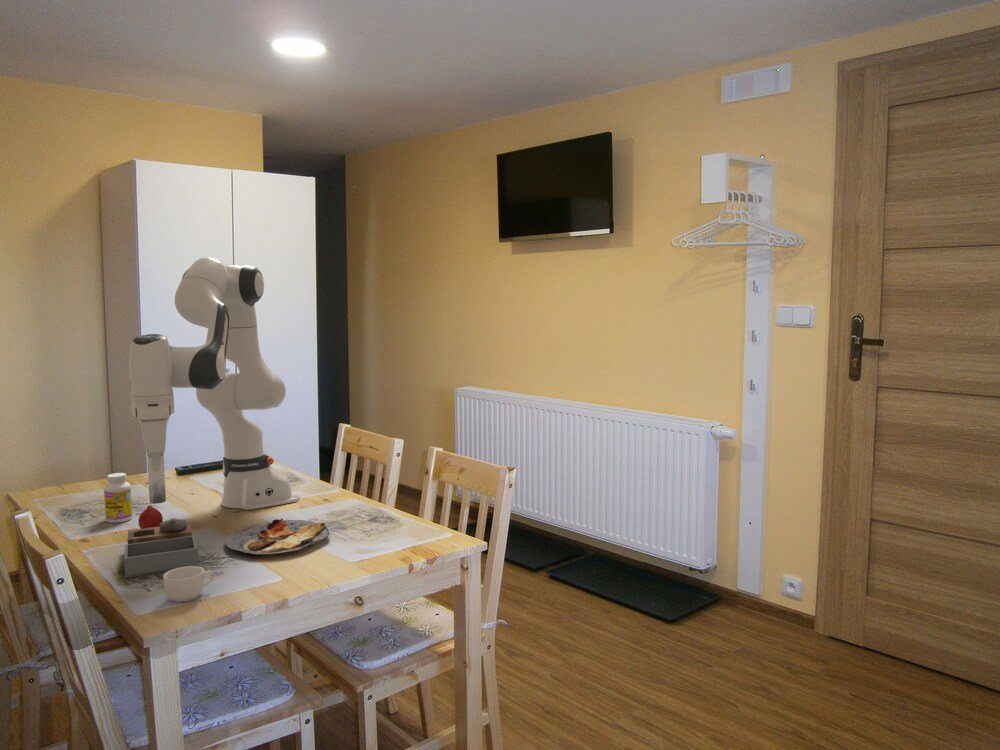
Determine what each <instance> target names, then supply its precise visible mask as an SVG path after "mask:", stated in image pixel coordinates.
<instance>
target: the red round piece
mask: <svg viewBox="0 0 1000 750" xmlns="http://www.w3.org/2000/svg"><path fill="white" fill-rule="evenodd" d="M163 520H164V517H163V515H162V513H161V512H160V511H159V510H158V509H157V508H154V506H153V504H152V505H151V504H148V505H147V506H146V508H145V509H144V510H143V511H142V512H141V513H140V514H139V517H138V526H139V529H144V528H152V527H160V523H162V522H164V521H163Z"/></svg>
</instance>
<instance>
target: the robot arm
mask: <svg viewBox="0 0 1000 750" xmlns="http://www.w3.org/2000/svg"><path fill="white" fill-rule="evenodd" d="M264 290H265V282H264V277H263V274H262V272H261V271H260V270H259V269H258V267H255V266H252V265H247V264H243V265H237V264H224V263H222V262H221V261H219V260H218V259H216V258H212V257H202V258H199V259H197V260H195V261H194V262H193V263H192V264H191V265H190V267H189V268H187V270H186V271H184V272H183V275H182V277H181V281H180V283H179V285H178V287H177V289H176V292H175V295H174V306H175V308H176V310H177V312H178V314H179V315H180V316H181V317H182V318H183V319H184V320H185V321H186V322H189V323H190V324H192V325H194V326H199V327H203V328H205V329H207V333H206V334H207V335H206V340H205V343H204V344H203V345H199V346H193V347H192V346H172V345H171V344H170V343H169V340H168V337H167V335H164V334H160V333H159V334H158V333H149V334H145V335H144V334H141V335H138V336H136V337H134V338H133V339H131V341H130V345H129V353H128V374H129V375H128V376H129V378H130V381H131V389H130V392H129V393H130V407H131V409H130V410H131V416H132V417H135V418H136V419H137V422H138V424H140V428H141V433H142V438H143V445H144V448H145V452H146V456H147V455H150V456H151V462H152V469H153V470H157V469H160V468H161V463H160V460H161V454H164V453H165V451H166V445H167V444H166V442H167V441H166V440H167V427H168V422H169V420H170V417H171V415H173V414H174V413H175V401H174V399H175V397H174V395H175V394H174V389H178V388H179V389H180V388H181V389H186V388H187V389H189V388H191V389H196V390H195V394H196V395H195V396H196V399H197V402H199V404H200V406H201V407H202V408H204V409H206V410H207V411H208V412H209V413H210V414H211V415H212V416H213V417H214V418H215V420H216V422H217V423H218V425H219V428H220V430H221V435H222V441H223V454H224V456H223V457H222V472H223V476H224V482H223V492H222V498H221V500H220V505H221V506H223V507H224V508H231V509H241V510H246V511H250V510H256V509H261V508H268V507H273V506H279V505H286V504H291V503H295V502H298V501H299V500H300V494H299V492H297V491H296V489H295V490H294V489H292V484H291V481H290V480H289V477H287V475H285V473H283V472H281V471H279V470H278V469H276V468H275V467H273V466H272V465H273V464H274V463H275V460H274V458H273V457H272V456H270V455H268V454H266V453H264V439H263V438H264V436H263V431H262V429H261V427H260V425H258V424H257V423H255V422H253V421H251V420H249V419H248V418H247V417H246V416H245V414H244V411H265V410H270V409H274V408H278V407H280V405H282V403H283V402H284V400H285V398H286V393H287V392H286V391H287V389H286V385H285V382H284V380H283V379H282V377H280V375H277V373H275V372H274V371H273V370H271V369H270V368H269V366H268V365H267V364H266V362H265V361H264V358H263V357H262V354H261V349H260V345H259V335H258V334H259V333H258V321H257V312H256V307H255V305H256V303H258V302H259V300H261V298H262V296H263V294H264ZM226 361H230V362H232V363H233V364H234V365H235V366H236V367H237V369H238V370H239V372H231V373H230V372H226V371H227V370H226V369H227V367H226V365H227V364H226ZM173 388H174V389H173Z"/></svg>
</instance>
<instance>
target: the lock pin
mask: <svg viewBox="0 0 1000 750" xmlns="http://www.w3.org/2000/svg"><path fill="white" fill-rule="evenodd" d="M146 458H147V459H146V460H147V478H148V480H147V481H148V497H149V504H152V505H153V504H154V505H155V504H162V503H166V502H167V495H166V479H165V477H166V475H165V459H164V458H165V457H164V453H163V454H161V460H160V463H161V468H160V469H157V470H153V469H152V462H151V456H150V455H147V454H146Z"/></svg>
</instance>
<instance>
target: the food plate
mask: <svg viewBox="0 0 1000 750" xmlns="http://www.w3.org/2000/svg"><path fill="white" fill-rule="evenodd" d="M329 535H330V533H329V529H328V527H327V526H326V523H324V522H320V523H319V522H314V521H311V520H302V519H297V520H295V519H292V520H291V519H286V520H284V519H283V518H281V519H273V520H272V521H270V522H266V523H260V524H254V525H252V526H249V527H246V528H244V529H241V530H239V531H236V532H234V533H231V534H230V535H228V536H227V537H226V538H225V540H224V544H225V545H226V547H227V548H228V549H230V550H233V551H238V552H241V553H245V554H251V555H267V556H270V555H271V556H277V555H279V554H282V553H287V552H294V551H298V550H301V549H304V548H306V547H307V546H308V547H309V546H311V545H313V544H316V543H317V542H320V541H321V540H323V539H324V540H325V539H326V538H327V537H328V536H329ZM249 541H250V543H249ZM251 541H252V542H251ZM248 543H249V544H248ZM246 544H248V545H247V548H246V549H245V547H244V546H245V545H246ZM258 551H259V552H258Z"/></svg>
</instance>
